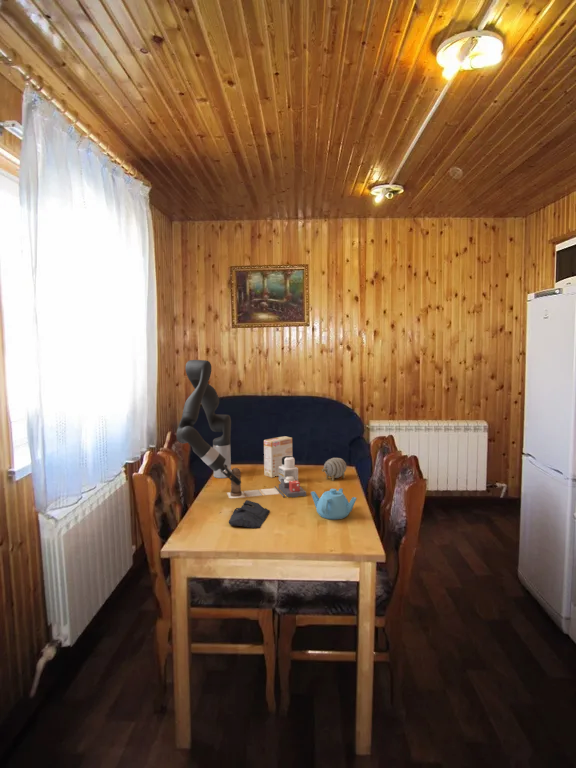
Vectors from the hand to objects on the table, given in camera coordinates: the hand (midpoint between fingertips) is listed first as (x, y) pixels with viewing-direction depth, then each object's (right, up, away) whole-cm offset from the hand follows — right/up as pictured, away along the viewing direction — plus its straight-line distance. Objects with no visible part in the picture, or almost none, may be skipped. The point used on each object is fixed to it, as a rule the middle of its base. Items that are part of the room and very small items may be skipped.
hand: (238, 481), depth 224 cm
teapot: (+42, -10, -23) cm, 49 cm away
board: (+7, -7, +3) cm, 10 cm away
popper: (+25, -7, +8) cm, 27 cm away
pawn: (-1, -6, 0) cm, 6 cm away
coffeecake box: (+18, -4, +40) cm, 44 cm away
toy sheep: (+47, -5, +30) cm, 56 cm away
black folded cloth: (+7, -11, -26) cm, 29 cm away
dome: (+24, -4, +11) cm, 27 cm away
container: (+23, -6, +25) cm, 34 cm away
